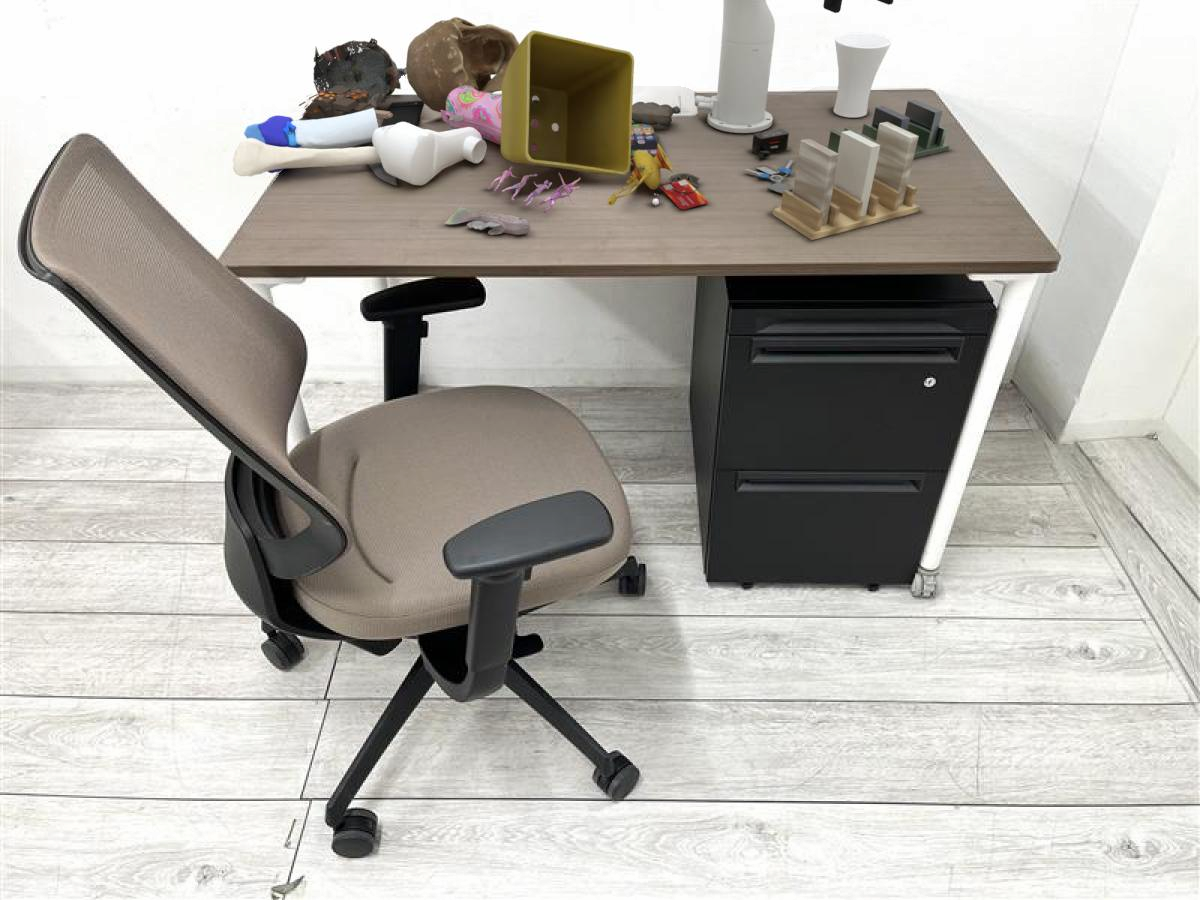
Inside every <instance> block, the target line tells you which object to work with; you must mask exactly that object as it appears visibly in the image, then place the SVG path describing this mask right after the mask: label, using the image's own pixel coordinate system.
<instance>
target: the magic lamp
mask: <svg viewBox="0 0 1200 900" xmlns="http://www.w3.org/2000/svg"><path fill="white" fill-rule="evenodd" d="M630 163H631V164H632V166H633V170H632V171H631V175H630V176H628V177H627V180H626V184H627V185H625V186H624V187H622V188H620V189H618V190H617V191H616V192H613V193H612V194H611V195H610V197H608V199H607V201H606V202H607V203H606V205H607V206H609V207H611V206H612V207H613V206H614V205H615V203H616V202H617V200H618V199H621V198H624V197H626V196H628V195H630V194H632V193H633V192H634V191H635V190H636V189H637V188H638V187H639V186H640V185H641V184H643V183H644V184H645V185H646V186H647V188H648V189H650V190H656V189H658V188H659V187H660V184H661V180H662V179H661V178H662V177H661V169H665V170H668V171H669V172H671V173H673V172H674V169H673V166H672V163H671V162H670V160H669V157H668V156H667V154H666V153H665V151H664V149H663V148H662V146H661V144H660V143H659V144H657V154H656V156H655V157H654V158H653V157H652V156H651V155H650V154H649V153H647V152H646V151H643V150H637V151H635V152H634V153H633V158H632V159H630ZM633 186H634V187H633ZM632 187H633V188H632ZM630 188H632V189H630ZM628 189H630V190H629V191H628ZM626 190H627V191H628V192H626V193H624V194H622V193H623V192H625V191H626ZM619 194H620V195H619Z"/></svg>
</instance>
